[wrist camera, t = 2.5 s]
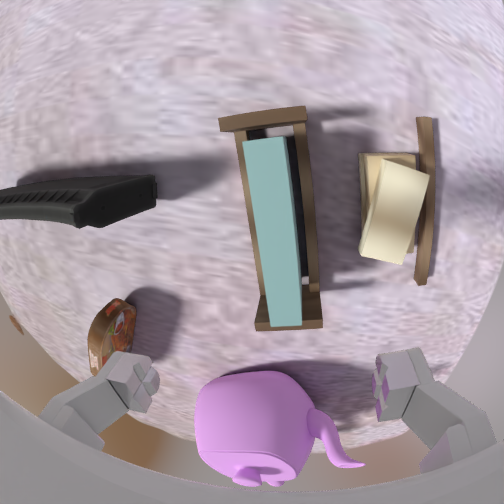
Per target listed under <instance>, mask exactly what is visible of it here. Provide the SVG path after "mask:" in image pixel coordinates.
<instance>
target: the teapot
mask: <svg viewBox="0 0 504 504" xmlns="http://www.w3.org/2000/svg"><path fill="white" fill-rule="evenodd" d="M194 423H195V434H196V441H197V448H198V452H199V455H200V457H201V458H202V459H203V461H204V462H206V463H207V464H208V465H209V466H210V467H211V468H213V469H214V470H216V471H218V472H220V473H222V474H224V475H226V476H228V477H230V478H233V480H232V481H233V482H235V483H237V484H239V485H243V486H252V487H254V486H260V485H262V481H267V483H269V484H270V485H272V486H281V485H283V484H284V481H286V480H292V479H294V478H296V477H297V476H298V474H299V473H300V471H301V470H302V468H303V466H304V464H305V462H306V461H307V459H308V457H309V454H310V452H311V450H312V447H313V444H314V440H315V437H316V438H319V439H321V440H322V441H323V443H324V445H325V449H326V452H327V455H328V458H329V460H330V461H331V463H333V464H334V465H335V466H337V467H341V468H354V467H361V466H364V465H365V463H362V462H358V461H356V460H353V459H351V458H350V457H349V456H347V455H346V453H345V452H344V450H343V448H342V446H341V443H340V439H339V434H338V431H337V428H336V426H335V424H334V422H333V420H332V419H331V418H330V417H329V416H328V415H327V414H325V413H324V412H322V411H320V410H317V409H315V406H314V404H313V402H312V400H311V399H310V397H309V396H308V395H307V393H306V392H305V391H304V390H303V389H302V387H301V386H300V385H299V384H298V383H297V382H296V381H295V380H294V379H292V378H291V377H290V376H288V375H286V374H284V373H282V372H278V371H256V372H247V373H239V374H233V375H228V376H223V377H219V378H216V379H214V380H212V381H211V382H209V383H208V384H206V385H205V386H204V387H203V388H202V389H201V390H200V392H199V395H198V398H197V401H196V407H195V418H194Z"/></svg>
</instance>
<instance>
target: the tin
mask: <svg viewBox="0 0 504 504" xmlns="http://www.w3.org/2000/svg"><path fill="white" fill-rule="evenodd" d="M135 320H136V308H135V307H134V306H132V305H130V304H128V303H126V302H125V301H123V300H121V299H119V298H115V299H113V300H112V301H111V302H109V303H108V304H107V305H106V306H105V307H104V308H103V309H102V310H101V311H100V312H99V313H98V314H97V315H96V317H95V318H94V320H93V322H92V324H91V327H90V330H89V333H88V353H89V362H90V370H91V373H92V374H93V375H94V376H95V377H96V375H97V374H98V373H99V371H100V370H101V369H102V367H103V366H104V365H105V363H106V362H107V361H108V359H109V358H110V357H111V355H112V354H113V353H114V352H116V351H120V352H127V353H130V351H131V348H132V341H133V333H134V327H135Z"/></svg>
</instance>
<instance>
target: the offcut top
mask: <svg viewBox="0 0 504 504" xmlns="http://www.w3.org/2000/svg"><path fill="white" fill-rule="evenodd" d="M429 177H430V175H428V174H425V173H422V172H420V171H417V170H414V169H411V168H409V167H406V166H403V165H400V164H397V163H394V162H391V161H387V160H384V159H381V164H380V168H379V173H378V177H377V181H376V185H375V190H374V194H373V197H372V201H371V205H370V209H369V212H368V216H367V220H366V223H365V226H364V230H363V233H362V237H361V240H360V243H359V246H358V251H359V253H360V255H361V256H364V257H369V258H373V259H378V260H382V261H387V262H391V263H396V264H400V265H402V263H403V260H404V258H405V255H406V252H407V249H408V247H409V244H410V241H411V238H412V235H413V232H414V229H415V226H416V223H417V220H418V217H419V213H420V210H421V207H422V203H423V200H424V196H425V192H426V189H427V185H428V181H429Z"/></svg>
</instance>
